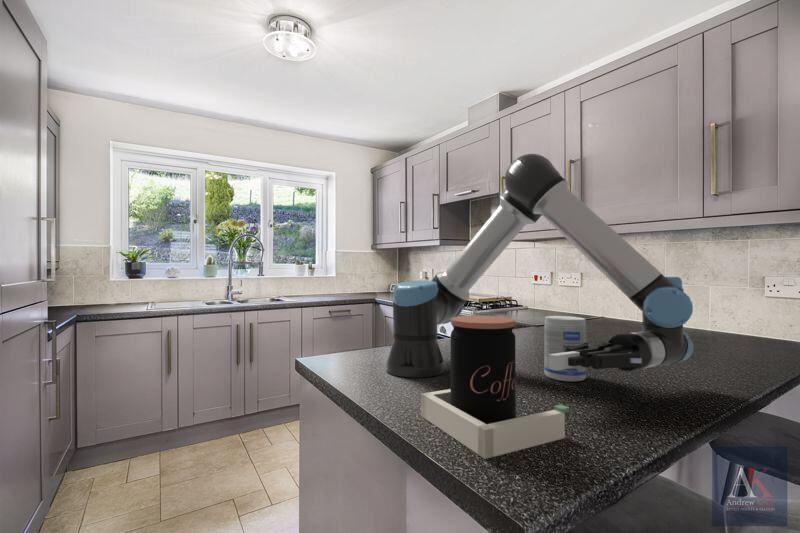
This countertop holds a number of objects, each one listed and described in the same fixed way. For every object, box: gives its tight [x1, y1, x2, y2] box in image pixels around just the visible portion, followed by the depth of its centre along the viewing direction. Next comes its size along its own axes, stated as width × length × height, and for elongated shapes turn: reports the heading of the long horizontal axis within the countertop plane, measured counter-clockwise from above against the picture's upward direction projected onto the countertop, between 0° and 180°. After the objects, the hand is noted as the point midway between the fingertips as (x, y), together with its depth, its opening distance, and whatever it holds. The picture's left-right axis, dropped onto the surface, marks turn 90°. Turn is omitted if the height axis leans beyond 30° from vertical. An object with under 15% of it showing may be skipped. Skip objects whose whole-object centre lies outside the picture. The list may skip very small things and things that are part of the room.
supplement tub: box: [543, 315, 587, 383], centre depth 96 cm, size 10×10×15 cm
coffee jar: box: [450, 315, 517, 424], centre depth 65 cm, size 11×11×18 cm
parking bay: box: [420, 388, 570, 460], centre depth 66 cm, size 18×16×5 cm
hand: (551, 362), depth 72 cm, fingers closed
